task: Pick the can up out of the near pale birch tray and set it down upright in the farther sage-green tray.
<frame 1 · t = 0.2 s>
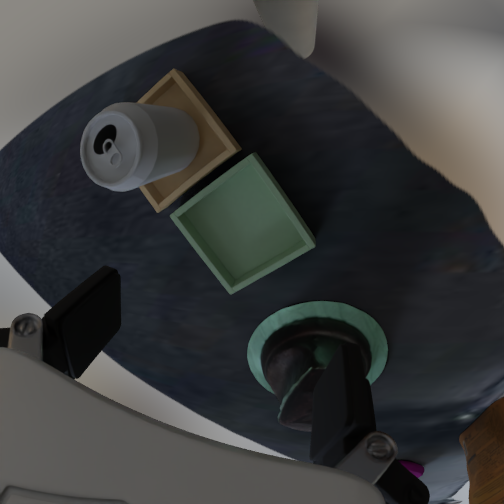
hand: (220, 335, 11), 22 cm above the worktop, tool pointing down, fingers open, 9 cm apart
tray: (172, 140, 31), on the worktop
black and teal hat: (317, 359, 39), on the worktop
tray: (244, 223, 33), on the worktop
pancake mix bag: (479, 419, 40), on the worktop
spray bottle: (382, 465, 50), on the worktop
can: (171, 140, 30), resting on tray
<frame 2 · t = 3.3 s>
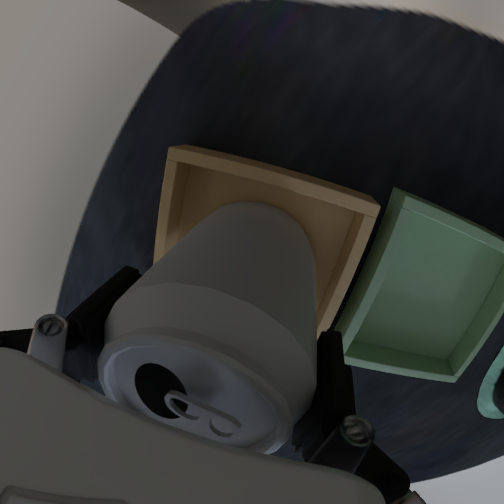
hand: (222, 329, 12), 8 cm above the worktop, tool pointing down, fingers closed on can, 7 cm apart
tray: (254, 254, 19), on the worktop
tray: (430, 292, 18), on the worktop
can: (253, 255, 19), resting on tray, touching gripper
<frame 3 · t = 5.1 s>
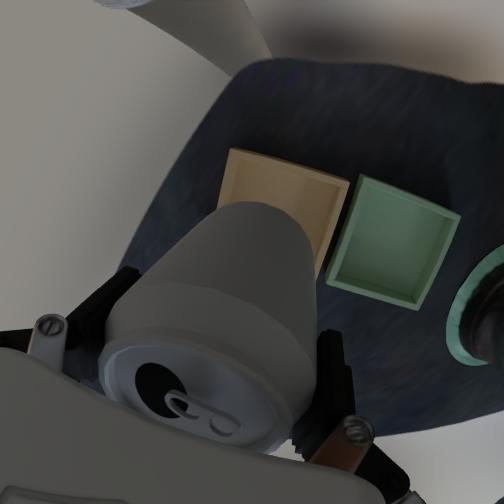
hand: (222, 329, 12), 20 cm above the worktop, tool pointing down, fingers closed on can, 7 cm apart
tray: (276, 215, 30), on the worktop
black and teal hat: (502, 308, 29), on the worktop
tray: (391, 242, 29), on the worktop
can: (253, 255, 19), point 13 cm above the worktop, touching gripper
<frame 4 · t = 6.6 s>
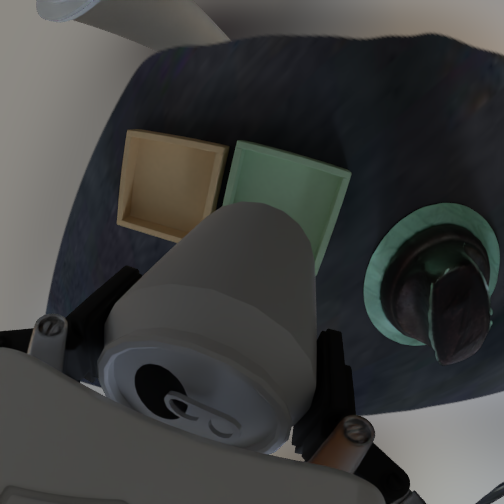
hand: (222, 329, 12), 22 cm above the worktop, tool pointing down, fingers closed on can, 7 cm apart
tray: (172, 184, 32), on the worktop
black and teal hat: (437, 281, 31), on the worktop
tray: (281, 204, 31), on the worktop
can: (253, 256, 19), point 14 cm above the worktop, touching gripper
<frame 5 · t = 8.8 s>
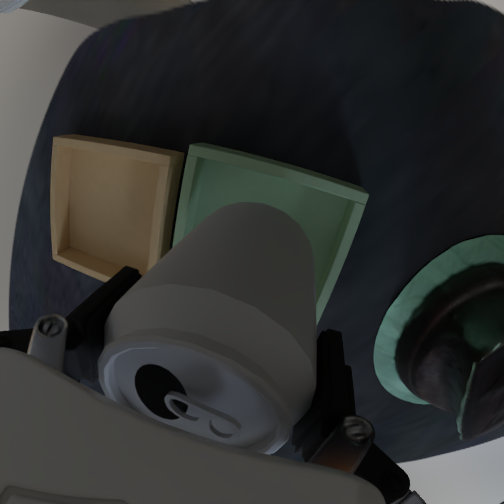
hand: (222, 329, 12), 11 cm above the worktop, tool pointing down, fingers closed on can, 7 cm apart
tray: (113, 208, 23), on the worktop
black and teal hat: (467, 333, 22), on the worktop
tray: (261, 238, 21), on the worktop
can: (253, 256, 19), point 3 cm above the worktop, touching gripper
when the fingers open (8 cm above the worktop, at t = 10.3 s): can stays where it is, resting on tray.
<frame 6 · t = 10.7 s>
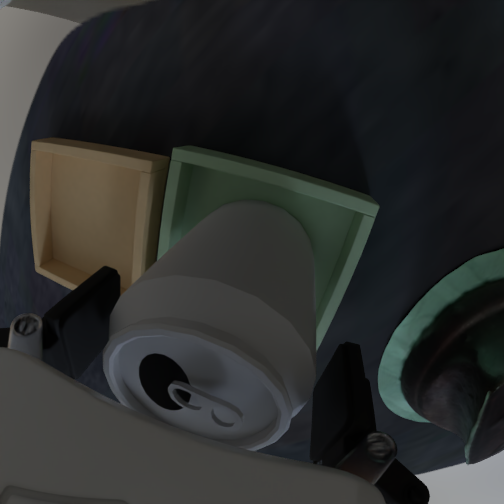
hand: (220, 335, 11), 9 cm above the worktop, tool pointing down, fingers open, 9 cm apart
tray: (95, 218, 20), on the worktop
black and teal hat: (478, 350, 19), on the worktop
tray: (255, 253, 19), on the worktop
can: (254, 253, 19), resting on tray
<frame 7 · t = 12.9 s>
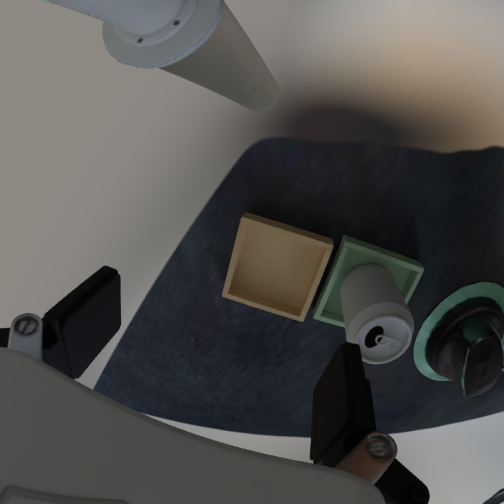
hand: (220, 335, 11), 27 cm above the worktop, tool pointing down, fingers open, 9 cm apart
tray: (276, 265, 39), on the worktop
black and teal hat: (466, 335, 37), on the worktop
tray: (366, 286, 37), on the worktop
can: (366, 286, 37), resting on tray
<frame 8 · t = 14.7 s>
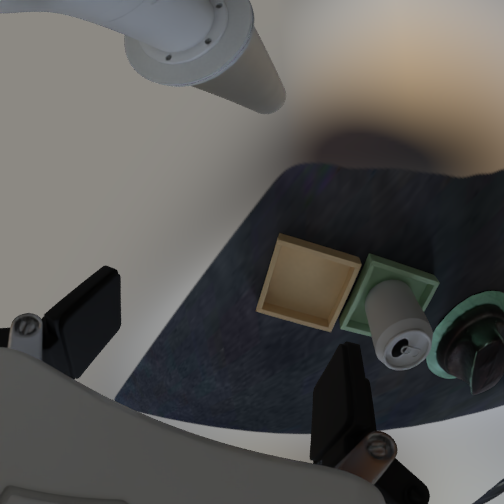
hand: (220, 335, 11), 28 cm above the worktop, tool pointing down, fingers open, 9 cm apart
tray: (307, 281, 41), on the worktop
black and teal hat: (472, 337, 40), on the worktop
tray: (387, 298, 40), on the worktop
can: (387, 298, 40), resting on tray
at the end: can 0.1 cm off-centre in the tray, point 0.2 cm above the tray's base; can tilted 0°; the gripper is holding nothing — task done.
